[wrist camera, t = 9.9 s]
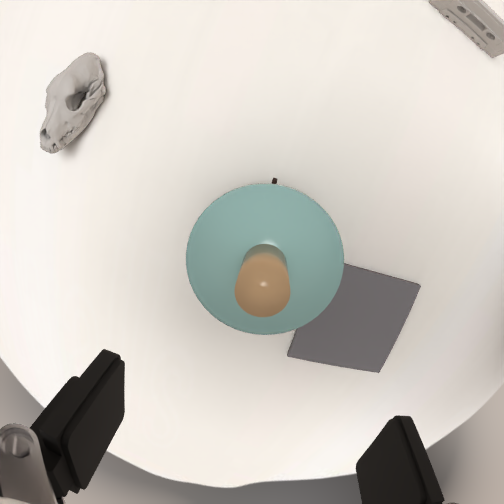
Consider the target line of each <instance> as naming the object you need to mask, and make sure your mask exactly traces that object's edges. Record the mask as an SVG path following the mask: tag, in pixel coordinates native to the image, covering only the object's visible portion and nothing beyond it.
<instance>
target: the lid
mask: <svg viewBox="0 0 504 504" xmlns="http://www.w3.org/2000/svg"><path fill="white" fill-rule="evenodd" d="M186 266H187V273H188V277H189V281H190V284H191V286H192V288H193V291H194V293H195V294H196V296H197V298H198V299H199V301H200V302H201V303H202V305H203V306H204V307H205V308H206V309H207V310H208V311H209V312H210V313H211V314H212V315H213V316H214V317H215V318H217V319H218V320H219V321H221V322H223V323H224V324H226V325H228V326H230V327H232V328H234V329H237V330H240V331H243V332H247V333H252V334H261V335H269V334H279V333H284V332H288V331H291V330H294V329H297V328H299V327H301V326H303V325H305V324H307V323H309V322H310V321H312V320H313V319H314V318H316V317H317V316H318V315H319V314H320V313H321V312H322V311H323V310H324V309H325V308H326V307H327V306H328V304H329V303H330V302H331V300H332V299H333V297H334V296H335V294H336V292H337V289H338V287H339V285H340V282H341V278H342V274H343V268H344V253H343V245H342V242H341V238H340V235H339V233H338V230H337V228H336V226H335V224H334V223H333V221H332V219H331V218H330V216H329V215H328V214H327V213H326V211H325V210H324V209H323V208H322V207H321V206H320V205H319V204H317V203H316V202H315V201H314V200H313V199H311V198H310V197H308V196H307V195H306V194H304V193H302V192H300V191H298V190H296V189H293V188H290V187H287V186H283V185H278V184H269V183H261V184H251V185H247V186H243V187H240V188H237V189H234V190H232V191H230V192H228V193H226V194H224V195H223V196H221V197H220V198H218V199H217V200H216V201H214V202H213V203H212V204H211V205H210V206H209V207H208V208H206V210H205V211H204V212H203V213H202V214H201V216H200V217H199V218H198V220H197V222H196V223H195V225H194V227H193V229H192V232H191V234H190V237H189V241H188V244H187V252H186Z"/></svg>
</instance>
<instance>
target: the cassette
mask: <svg viewBox="0 0 504 504" xmlns="http://www.w3.org/2000/svg"><path fill="white" fill-rule="evenodd" d="M429 3H430V4H431V5H433V6H434V7H435V8H437V9H438V10H439V13H441V14H442V15H443V16H444V17H446V18H447V19H448V20H449V21H450V22H452V23H453V24H454V25H455V26H456V27H458V28H459V29H460V30H461V31H462V32H463V33H464V34H466V35H467V36H468V37H469V38H470V39H471V40H472V41H473V42H474V43H475V44H476V45H477V46H478V47H479V48H480V49H482V50H485V51H486V52H487V53H488V54H489V55H490V56H491V57H496V56H498V55H501V54H504V21H503V20H502V19H501V18H500V17H499V16H498V15H497V14H496V13H495V12H494V11H493V10H492V9H491V8H490V7H489V6H488V5H487V4H486V3H485V2H484V1H483V0H430V2H429Z"/></svg>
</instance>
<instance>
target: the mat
mask: <svg viewBox="0 0 504 504" xmlns="http://www.w3.org/2000/svg"><path fill="white" fill-rule="evenodd" d="M420 287H421V286H420V285H419V284H417V283H413V282H410V281H406V280H402V279H399V278H395V277H392V276H388V275H384V274H381V273H377V272H374V271H370V270H366V269H363V268H359V267H355V266H352V265H348V264H344V268H343V274H342V278H341V282H340V285H339V287H338V289H337V292H336V294H335V296H334V297H333V299H332V300H331V302H330V303H329V304H328V306H327V307H326V308H325V309H324V310H323V311H322V312H321V313H320V314H319V315H318V316H317V317H316V318H314V319H313V320H312V321H310V322H309V323H307V324H305V325H303V326H301V327H299V328H297V330H296V333H295V335H294V338H293V340H292V343H291V346H290V348H289V351H288V354H287V356H288V357H293V358H297V359H302V360H307V361H312V362H318V363H323V364H328V365H334V366H339V367H345V368H351V369H357V370H364V371H370V372H377V373H379V372H380V370H381V368H382V367H383V365H384V363H385V361H386V359H387V357H388V355H389V353H390V352H391V350H392V348H393V346H394V344H395V342H396V340H397V338H398V336H399V334H400V332H401V329H402V327H403V325H404V323H405V321H406V319H407V317H408V314H409V312H410V310H411V308H412V306H413V303H414V301H415V299H416V296H417V294H418V292H419V289H420Z"/></svg>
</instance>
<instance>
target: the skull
mask: <svg viewBox="0 0 504 504" xmlns="http://www.w3.org/2000/svg"><path fill="white" fill-rule="evenodd" d="M103 82H104V73H103V71H102V68H101V64H100V58H99V57H98V56H97V55H96V54H94V53H85V54H83V55H81V56H80V57H78V58H77V59H76V60H74V61H73V62H72V63H71V64H70V65H69V66H68V67H67V68H66V69H65V70H64V71H63V72H61V73H60V74H58V75H57V76H56V77H54V79H53V80H52V81H51V83H50V84H49V86H48V87H47V89H46V92H47V97H46V103H45V107H46V110H47V116H46V118H45V120H44V122H43V125H42V128H41V130H40V144H41V146H40V147H41V148H42V150H45V151H46V152H49V153H56V152H58V151H59V150H61V149H62V148H64V147H65V146H66V145H68V144H69V143H70V142H71V141H72V140H73V139H75V138H76V137H77V136H78V135H79V134H80V133H81V132H82V131H83V130H84V129H85V128H86V126H87V125H88V124H89V122H90V121H91V119H92V118H93V116H94V113H95V111H96V109H97V108H98V106H99V105H100V104H101V103H102V102H103V100H104V96H103V95H105V92H106V88H105V86H104V84H103ZM86 91H89V92H87V95H86V100H84V101H83V102H82V105H81V106H80V108H78V109H77V107H78V105H79V103H80V101H81V99H82V98H83V97H84V93H85V92H86ZM70 131H71V132H70ZM67 132H68V133H67ZM66 133H67V135H66ZM65 135H66V136H65Z"/></svg>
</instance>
